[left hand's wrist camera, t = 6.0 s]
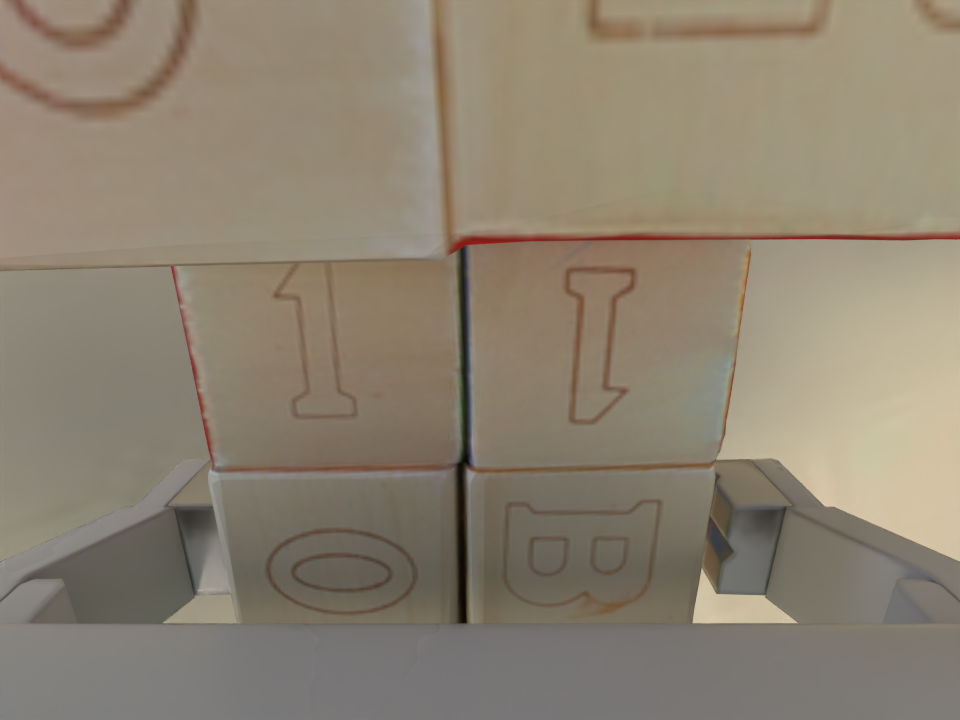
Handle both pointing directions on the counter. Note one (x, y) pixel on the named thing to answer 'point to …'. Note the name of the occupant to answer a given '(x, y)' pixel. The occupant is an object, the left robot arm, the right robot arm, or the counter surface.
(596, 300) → the stack of blocks
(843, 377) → the counter surface
